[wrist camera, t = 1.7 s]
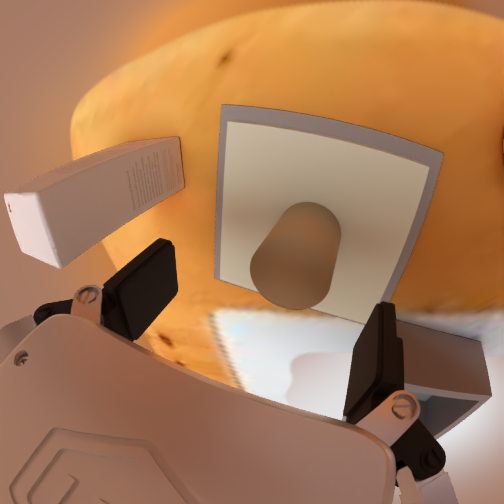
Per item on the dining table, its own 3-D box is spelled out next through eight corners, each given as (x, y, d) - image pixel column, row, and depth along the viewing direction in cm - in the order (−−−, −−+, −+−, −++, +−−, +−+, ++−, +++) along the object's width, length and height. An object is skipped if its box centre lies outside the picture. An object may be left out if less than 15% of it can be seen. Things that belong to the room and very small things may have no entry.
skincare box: (133, 187, 22) (21, 253, 13) (125, 141, 20) (1, 192, 11) (188, 189, 20) (60, 273, 11) (182, 135, 18) (33, 190, 9)
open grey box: (480, 341, 17) (492, 396, 12) (427, 399, 22) (425, 446, 17) (391, 318, 19) (390, 379, 14) (349, 383, 25) (338, 433, 20)
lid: (425, 163, 13) (457, 195, 8) (368, 315, 19) (362, 378, 15) (234, 120, 16) (178, 131, 11) (225, 272, 23) (187, 320, 18)
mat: (442, 152, 12) (443, 153, 12) (375, 324, 20) (375, 327, 20) (224, 104, 16) (221, 104, 16) (216, 275, 24) (214, 278, 23)
